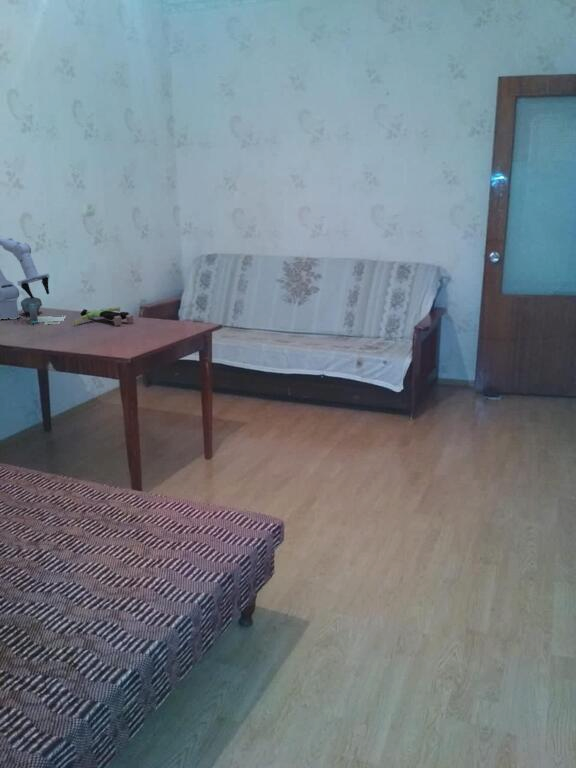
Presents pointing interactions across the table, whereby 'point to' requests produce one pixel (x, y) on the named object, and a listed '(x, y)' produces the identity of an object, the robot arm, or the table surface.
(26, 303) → the rock
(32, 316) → the marker
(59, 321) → the plate
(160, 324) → the table surface
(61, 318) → the paper
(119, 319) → the toy
